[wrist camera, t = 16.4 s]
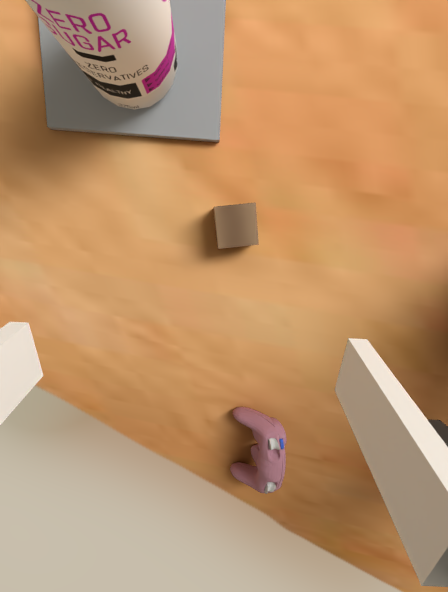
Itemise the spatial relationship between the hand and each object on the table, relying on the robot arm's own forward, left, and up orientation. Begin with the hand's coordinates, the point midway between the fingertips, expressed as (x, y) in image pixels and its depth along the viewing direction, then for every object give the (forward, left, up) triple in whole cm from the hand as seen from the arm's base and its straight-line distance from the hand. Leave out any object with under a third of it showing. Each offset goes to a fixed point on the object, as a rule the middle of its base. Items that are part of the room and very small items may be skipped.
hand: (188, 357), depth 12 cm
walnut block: (-4, -5, -21) cm, 22 cm away
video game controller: (-8, +21, -21) cm, 31 cm away
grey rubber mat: (+6, -19, -20) cm, 29 cm away
